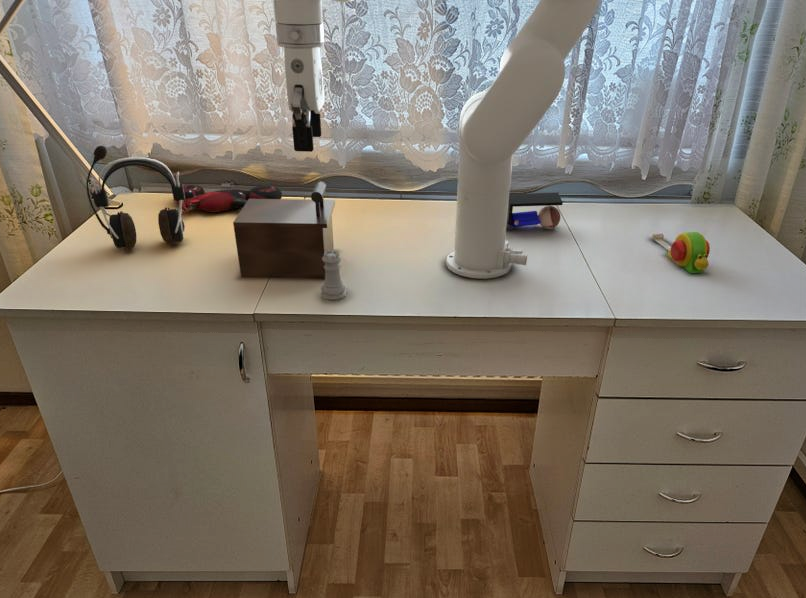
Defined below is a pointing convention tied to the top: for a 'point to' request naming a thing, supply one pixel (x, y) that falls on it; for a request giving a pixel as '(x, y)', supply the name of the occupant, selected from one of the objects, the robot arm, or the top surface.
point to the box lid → (288, 211)
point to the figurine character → (546, 216)
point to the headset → (122, 222)
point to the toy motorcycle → (225, 197)
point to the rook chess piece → (332, 277)
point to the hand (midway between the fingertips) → (308, 143)
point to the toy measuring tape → (687, 250)
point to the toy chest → (283, 251)
